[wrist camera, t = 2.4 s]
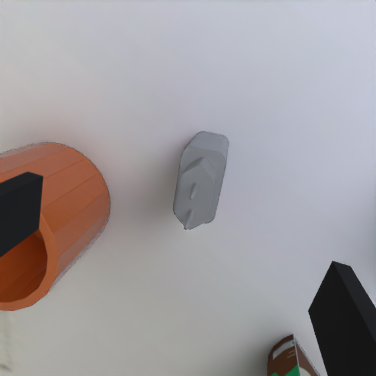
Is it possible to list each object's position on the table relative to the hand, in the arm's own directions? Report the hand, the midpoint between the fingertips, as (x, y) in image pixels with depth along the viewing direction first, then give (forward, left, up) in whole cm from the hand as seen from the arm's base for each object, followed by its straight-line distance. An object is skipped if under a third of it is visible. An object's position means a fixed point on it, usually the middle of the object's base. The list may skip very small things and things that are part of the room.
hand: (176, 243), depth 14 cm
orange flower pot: (-8, +14, -16) cm, 23 cm away
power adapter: (0, 0, -16) cm, 16 cm away
